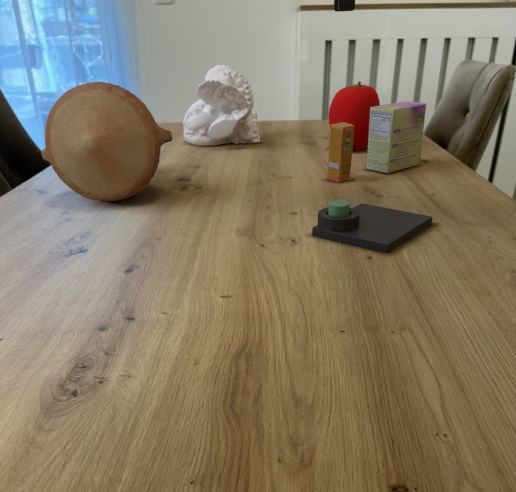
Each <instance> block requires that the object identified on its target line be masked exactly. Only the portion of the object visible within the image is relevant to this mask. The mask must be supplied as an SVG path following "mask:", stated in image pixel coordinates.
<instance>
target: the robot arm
mask: <svg viewBox="0 0 516 492" xmlns="http://www.w3.org/2000/svg"><path fill="white" fill-rule="evenodd" d="M355 8H356V0H333V10H334V12H335V13H336V12H337V13H339V12H353V11H354V10H355Z"/></svg>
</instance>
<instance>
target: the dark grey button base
mask: <svg viewBox="0 0 516 492" xmlns="http://www.w3.org/2000/svg"><path fill="white" fill-rule="evenodd" d="M328 209H329V206H328V207H323V208H321V209H320V210H318V212H317V225H315V226H313V227H311V228H312V229H311V231H312V236H314V237H318V238H322V239H326V240H330V241H334V242H340V243H342V244H343V243H344V244H347V245H352V246H356V247H360V248H364V249H369V250H373V251H377V252H380V253H385V254H387V253H389V252H391V251H393V250H394V249H395V248H397V247H398V246H401V244H404V242H407V241H408V240H409V239H411V238H412V237H414V236H416V235H417V234H419V233H420V232H422V231H423V230H425V229H427V228H428V227H430V226H432V224H433V216H431V215H427V214H421V213H417V212H410V211H405V210H400V209H395V208H389V207H384V206H378V205H374V204H368V203H363V202H362V203H360V204H358V205H355V206H353V207H350V213H349V216H344V217H334V216H329V215H328Z"/></svg>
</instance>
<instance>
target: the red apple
mask: <svg viewBox="0 0 516 492" xmlns="http://www.w3.org/2000/svg"><path fill="white" fill-rule="evenodd" d="M374 106H381V104H380V97H379V94H378V92H377V90H376V89H375V88H374V87H373V86H371V85H366V84H362V81H357V84H352V85H349V86H345V87H343V88H341V89H339V90H338V91H337V92H336V93H335V94H334V96H333V98H332V100H331V103H330V106H329V110H328V124H329V127H330V126H331V125H332V124H338V123H342V122H343V123H348V124H352V125H354V126H355V127H354V138H353V149H352V151H358V150H363V149H365V148H368V139H369V123H370V107H374Z"/></svg>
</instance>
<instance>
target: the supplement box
mask: <svg viewBox="0 0 516 492" xmlns="http://www.w3.org/2000/svg"><path fill="white" fill-rule="evenodd" d="M354 127H355V126H354V125H352V124H348V123H343V122H342V123H338V124H332V125H331V126H330V125H329V128H330V129H329V142H328V159H327V175H326V179H327V180H329V181H331V182H336V183H342V182H345V181H349V180H351V171H352V170H351V168H352V159H353V150H352V149H353V138H354Z"/></svg>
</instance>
